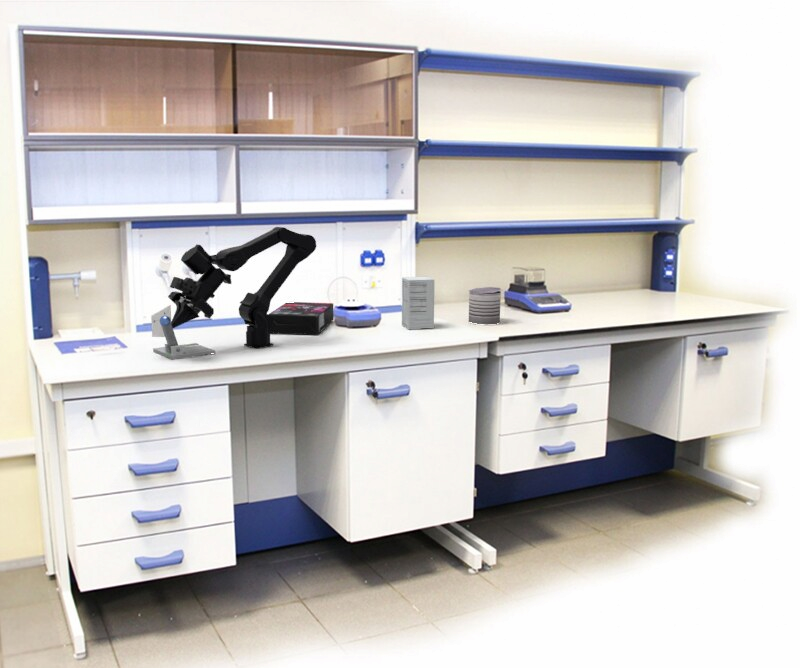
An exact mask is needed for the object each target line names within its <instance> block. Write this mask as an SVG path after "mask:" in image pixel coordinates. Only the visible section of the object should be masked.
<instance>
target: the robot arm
mask: <svg viewBox="0 0 800 668" xmlns="http://www.w3.org/2000/svg"><path fill="white" fill-rule="evenodd" d="M279 243H282V244H285V245H286V248H285V253H284V255H283V257H282V258H281V260H279V262H278V263H277V265H276V266H275V267H274V268H273V270H272V272H271V273H270V274H269V275H268V276H267V278H266V279H265V281H264V282H263V284H262V285H261V286H260V288H259V289H258V290H257V291H256V292H254V293H252V292H247V293H246V294H245V296H244V298H243V299H242V300H241V301H240V302H239V304H240V305H239V307H238V314H239V316H240V318H241V319H242V320H243V322H244V325H247V326H246V332H245V343H244V344H243V345H244V346H245V345H246V347H249V346H250V348H253V347H254V349H260V347H262V348H266V347H265V346H267V347H272V346H271V345H273V346H274V343H272V342H271V333H270V327H272V324H273V321H274V320H273V319H272V318H271V317H270V316H269V315H268V314H269V313H268V312H269V310H270V307H271V306H270V305H271V301H272V300H273V298H274V296H276V294H277V292H278V291H279V290H280V289H281V287H282V286H283V284H284V283H285V282H286V280H287V279H288V277H290V275H291V274H292V272H293V271H294V269H296V267H297V265H298V264H299V263H301V262H303V261H304V260H306V259H307V258H309V256H311V254H313V253H314V252H315V250H316V248H317V241H316V238H315V237H314V236H313V235H311V234H305V233H299V232H295V231H293V230H290V229H288V228H286V227H283V226H282V227H281V226H276V227H273V228H272V229H270V230H269V231H267V232H265V233H262V234H261V235H258V236H256V237H255V238H253V239H251V240H249V241H247V242H245V243H243V244H242V245H237V246H233V247H227V248H225V249H221V250H220V251H218V252H217V253H216V254H212V255H210V254H209V253H208V252H207V251H206V250H205V248H204V247H203V246H202V245H201V244H195V246H193V247H191V248H190V249H188V250H187V251H185V252H184V253H183V254H182V256H181V259H180V262H182V263H183V264H184V265H185V266H186V267H187V268H188V269H189V270H190V271H191V272H192V273H193V274H195V275H201V276H200V277H199V278H198V280H194V279H193V278H191V277H188V276H187V277H185V278H184V279H183V278H180V277H177V276H173V278H172V279H171V283H170V285H169V288H171V289H176V290H178V291H171V292H170V293H169V295H167V297H168V299H170V301H172V303H174V304H175V305H176V309H175V312H174V315H173V317H172V318H171V325H172V328H173V329H175V328H177V327H180V326H181V325H184V324H186V323H188V322H191V321H192V320H195V319H197V318H198V319H199V318H200V315H199V314H200V313H201V312H202V313H203V314H204V315H203V316H204V318H206V319H211V318H212V316H213V315H214V314H215V313H214V312H215V310H214V307H213V306H211V305H210V303H208V301H209V299H210V298H211V299H214V298H215V296H216V295H215V294H214V293H216V291H217V290H218V289H219V288H220V287H221V285H222V284H223V283H224V284H226V285H227V284H228V285H232V284H233V283H232V278H231V276H232V275H231V274H230V273H229V274H228V273H225V271H228V272H236V271H237V270H239V269H241V268H242V267H243V266H244V265H245V264H247V263H248V261H249V260H250V259H252V257H254V256H256V255H258V254H259V253H260V254H261V253H262V252H264V251H266V250H267V249H270V248H272V247H274V246H275V245H278V244H279ZM214 265H216V266H217V267H216V266H214ZM180 291H181V292H180Z"/></svg>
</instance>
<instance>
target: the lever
mask: <svg viewBox="0 0 800 668" xmlns="http://www.w3.org/2000/svg"><path fill="white" fill-rule="evenodd" d="M171 321H172V319H171V320H170V318H169V317H168V316H162V317H161V318H160V324H161V326H162V329H163V332H164V335H165V337H164V338H165V341H166V344H168V347H169V350H170V351H171V346H177V345H179V343H178V340H177V337H176V335H175V332H174V328H172V325H171Z"/></svg>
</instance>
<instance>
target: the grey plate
mask: <svg viewBox="0 0 800 668" xmlns="http://www.w3.org/2000/svg"><path fill="white" fill-rule="evenodd" d="M162 316H168V317H169V318H170V320H171V321H172V308H171V304H169V305H168V306H166V307H164V308H163V309H160V310H159V311H157V312H156V313H153V314H152V315H151V316H150V317H151V318H150V319H151V320H150V321H151V336H152V338H165V335H164V332H163V329H162V326H161V324H160V318H161V317H162Z"/></svg>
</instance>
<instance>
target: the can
mask: <svg viewBox="0 0 800 668" xmlns="http://www.w3.org/2000/svg"><path fill="white" fill-rule="evenodd" d="M501 292H502V289H501V287H493V286H492V287H491V286H486V287H484V286H483V287H476V288H472V289H469V290H468V293H469V294H468V295H469V296H468V297H469V298H468V299H469V300H468V323H469V322H472V323H477V324H496V325H498V324H497V323H499V322H500V323H501V297H502V295H501V294H502V293H501ZM500 323H499V324H500Z"/></svg>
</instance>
